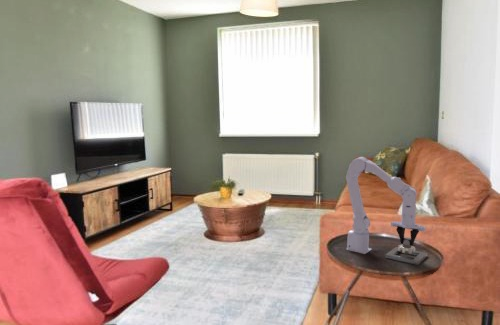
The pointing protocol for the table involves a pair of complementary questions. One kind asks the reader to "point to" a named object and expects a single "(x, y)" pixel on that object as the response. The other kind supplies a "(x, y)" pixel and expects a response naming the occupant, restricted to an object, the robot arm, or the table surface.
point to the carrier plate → (418, 259)
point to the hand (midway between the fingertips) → (407, 244)
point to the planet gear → (406, 246)
